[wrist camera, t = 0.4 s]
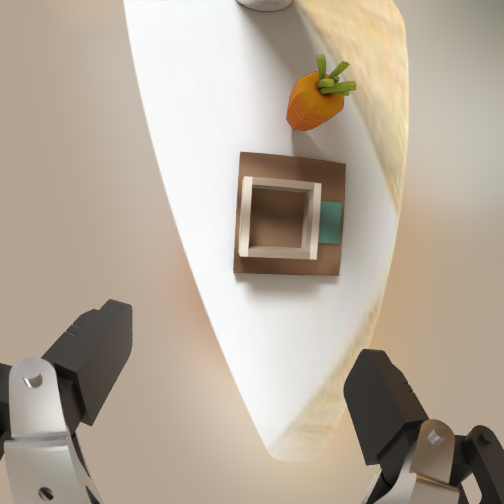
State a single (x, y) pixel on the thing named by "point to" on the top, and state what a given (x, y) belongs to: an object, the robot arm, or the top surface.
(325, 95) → the carrot
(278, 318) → the top surface
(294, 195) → the socket board
